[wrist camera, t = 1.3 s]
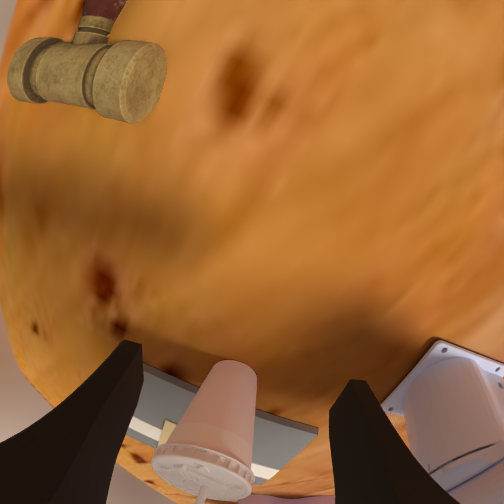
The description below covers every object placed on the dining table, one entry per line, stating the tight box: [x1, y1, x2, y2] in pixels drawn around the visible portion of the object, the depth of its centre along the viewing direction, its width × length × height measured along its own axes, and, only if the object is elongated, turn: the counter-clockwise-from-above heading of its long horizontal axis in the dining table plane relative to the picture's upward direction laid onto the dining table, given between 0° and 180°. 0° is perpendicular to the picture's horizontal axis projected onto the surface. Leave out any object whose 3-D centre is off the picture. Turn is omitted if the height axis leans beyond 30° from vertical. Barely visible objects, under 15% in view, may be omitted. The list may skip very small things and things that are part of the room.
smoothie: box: [151, 360, 257, 504], centre depth 18 cm, size 6×6×14 cm
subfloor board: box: [126, 363, 318, 485], centre depth 28 cm, size 18×14×1 cm
